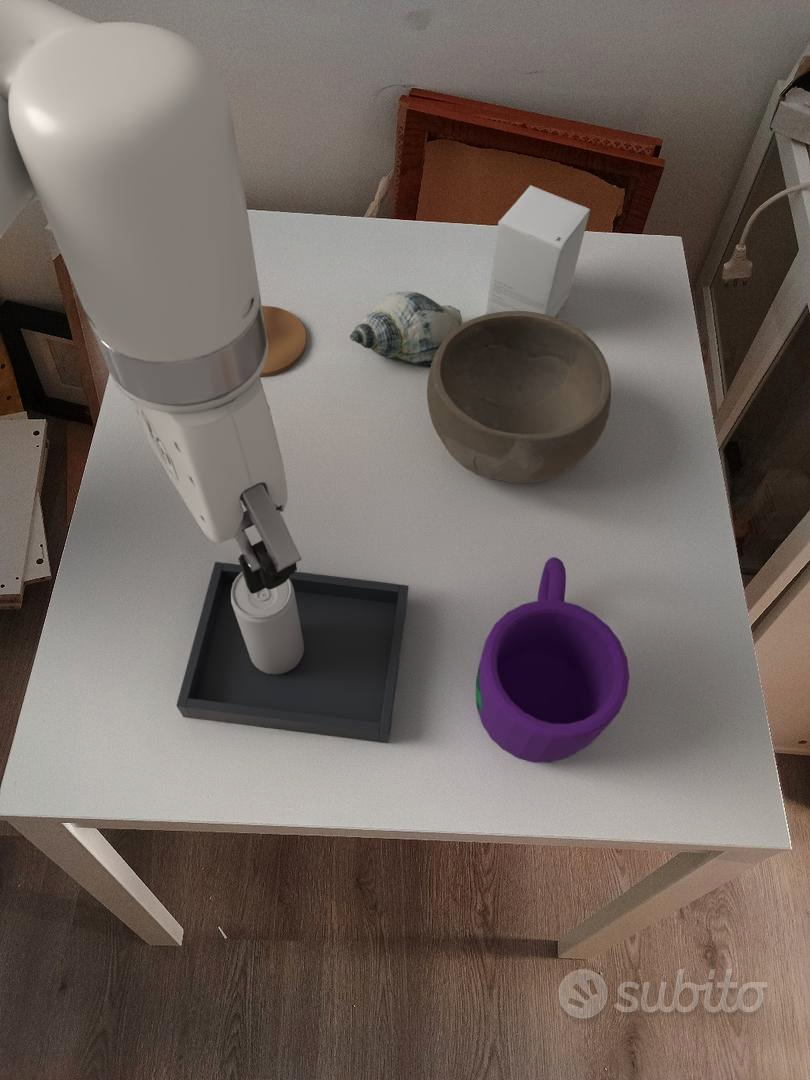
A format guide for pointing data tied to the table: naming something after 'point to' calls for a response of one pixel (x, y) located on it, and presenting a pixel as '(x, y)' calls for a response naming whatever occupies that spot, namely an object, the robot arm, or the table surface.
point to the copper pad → (282, 340)
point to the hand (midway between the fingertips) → (236, 522)
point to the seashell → (407, 327)
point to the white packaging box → (536, 253)
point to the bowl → (518, 395)
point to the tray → (302, 660)
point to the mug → (550, 675)
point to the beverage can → (269, 625)
